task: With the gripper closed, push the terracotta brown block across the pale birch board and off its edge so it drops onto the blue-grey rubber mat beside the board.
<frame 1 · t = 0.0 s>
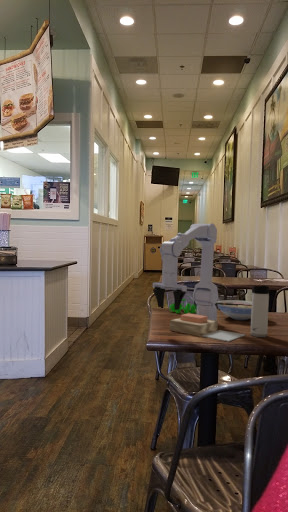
hand: (168, 308, 153), 10 cm above the table, fingers open, 7 cm apart
ramen bowl: (239, 319, 192), on the table
board: (193, 330, 163), on the table
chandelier: (183, 312, 206), on the table
mat: (223, 336, 154), on the table
travel mug: (258, 336, 157), on the table
terracotta brown block: (193, 320, 162), point 4 cm above the table, touching board
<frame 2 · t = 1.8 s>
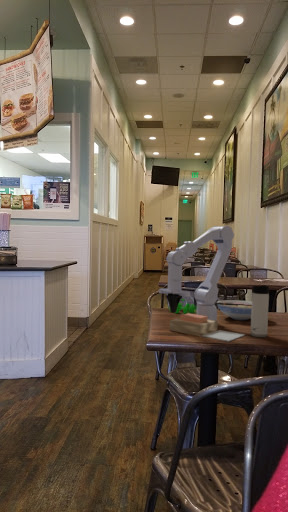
hand: (173, 312, 169), 6 cm above the table, fingers closed
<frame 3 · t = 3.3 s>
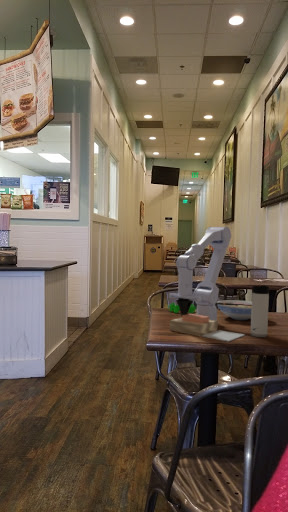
hand: (184, 317, 165), 5 cm above the table, fingers closed
terracotta brown block: (195, 320, 162), point 4 cm above the table, touching gripper
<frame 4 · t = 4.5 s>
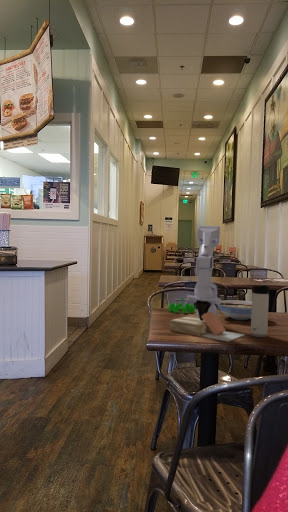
hand: (202, 320, 160), 5 cm above the table, fingers closed
terracotta brown block: (211, 324, 157), point 4 cm above the table, tilted 45°, touching gripper
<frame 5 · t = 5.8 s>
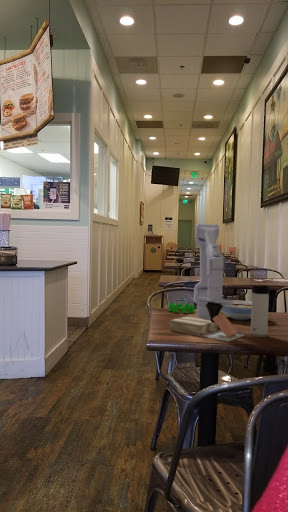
hand: (213, 322, 157), 5 cm above the table, fingers closed
terracotta brown block: (223, 327, 154), point 3 cm above the table, tilted 42°, touching gripper, mat
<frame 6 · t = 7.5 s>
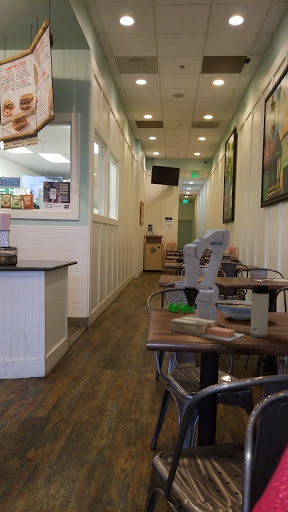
hand: (190, 306, 164), 9 cm above the table, fingers closed
terracotta brown block: (220, 334, 155), resting on mat
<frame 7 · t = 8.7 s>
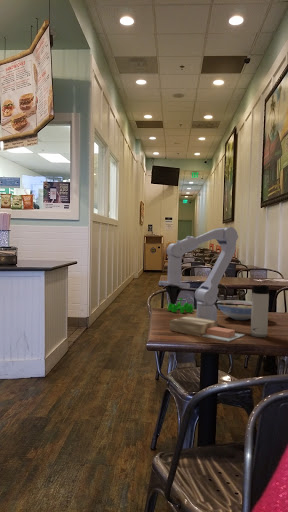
hand: (173, 303, 170), 9 cm above the table, fingers closed
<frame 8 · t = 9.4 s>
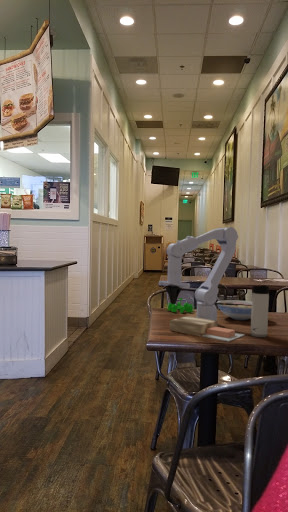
hand: (173, 303, 170), 9 cm above the table, fingers closed
at the end: terracotta brown block resting on mat; terracotta brown block inside the target area on the mat (1.3 cm from its centre), point 0.4 cm above the mat's base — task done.
